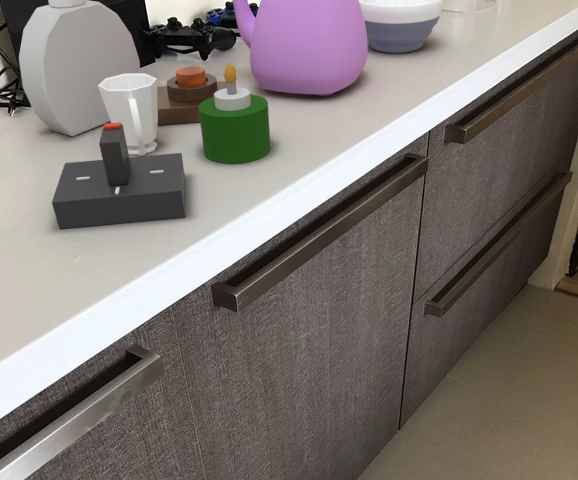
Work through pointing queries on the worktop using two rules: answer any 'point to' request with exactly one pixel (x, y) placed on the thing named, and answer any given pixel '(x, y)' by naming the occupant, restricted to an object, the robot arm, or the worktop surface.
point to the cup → (133, 108)
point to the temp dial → (115, 154)
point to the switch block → (184, 100)
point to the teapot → (304, 44)
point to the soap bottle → (73, 62)
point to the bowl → (399, 23)
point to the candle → (234, 124)
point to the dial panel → (120, 192)
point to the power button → (190, 76)
